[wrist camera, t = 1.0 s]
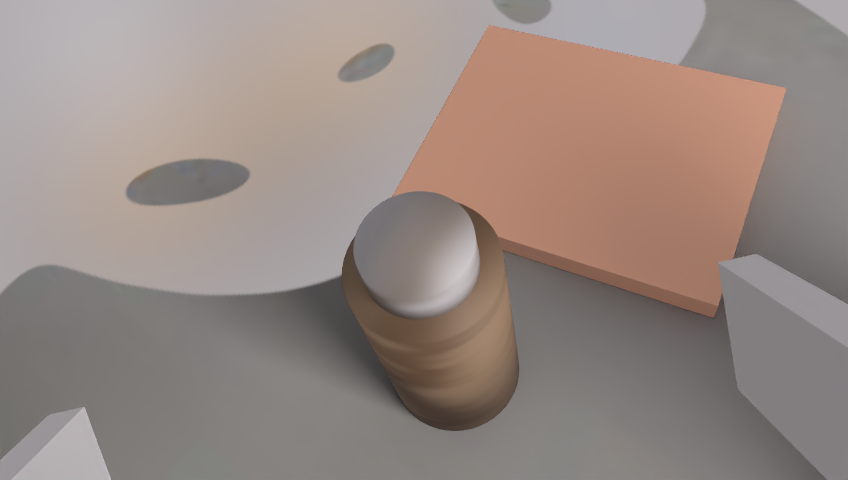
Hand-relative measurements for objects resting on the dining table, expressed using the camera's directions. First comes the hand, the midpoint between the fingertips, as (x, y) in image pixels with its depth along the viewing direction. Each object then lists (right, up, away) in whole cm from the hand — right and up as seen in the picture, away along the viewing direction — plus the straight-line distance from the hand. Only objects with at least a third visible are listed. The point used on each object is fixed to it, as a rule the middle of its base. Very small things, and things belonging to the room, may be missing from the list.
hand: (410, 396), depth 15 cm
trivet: (+11, +8, +33) cm, 35 cm away
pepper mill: (+2, -4, +27) cm, 27 cm away
